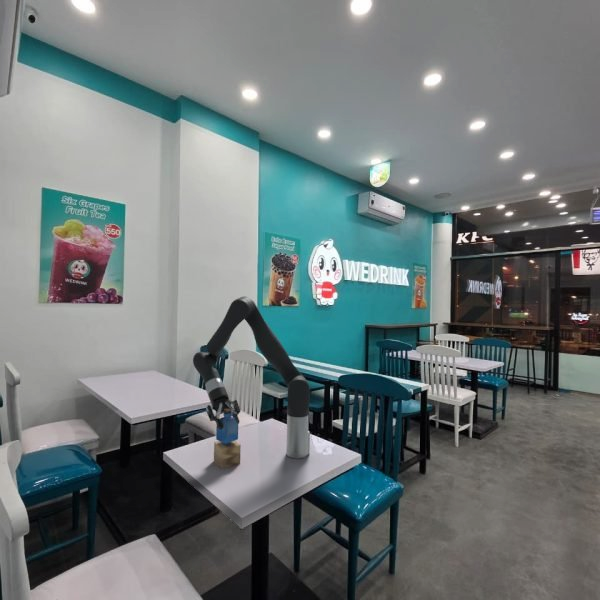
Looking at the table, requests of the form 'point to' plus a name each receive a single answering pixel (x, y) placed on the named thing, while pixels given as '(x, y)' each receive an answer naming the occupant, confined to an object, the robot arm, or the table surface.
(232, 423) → the perfume bottle
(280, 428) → the table surface
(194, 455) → the table surface
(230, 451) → the tower top block
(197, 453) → the table surface
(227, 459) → the tower bottom block
